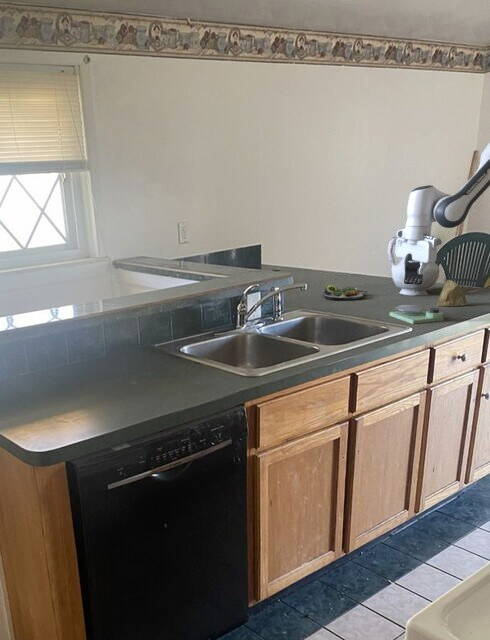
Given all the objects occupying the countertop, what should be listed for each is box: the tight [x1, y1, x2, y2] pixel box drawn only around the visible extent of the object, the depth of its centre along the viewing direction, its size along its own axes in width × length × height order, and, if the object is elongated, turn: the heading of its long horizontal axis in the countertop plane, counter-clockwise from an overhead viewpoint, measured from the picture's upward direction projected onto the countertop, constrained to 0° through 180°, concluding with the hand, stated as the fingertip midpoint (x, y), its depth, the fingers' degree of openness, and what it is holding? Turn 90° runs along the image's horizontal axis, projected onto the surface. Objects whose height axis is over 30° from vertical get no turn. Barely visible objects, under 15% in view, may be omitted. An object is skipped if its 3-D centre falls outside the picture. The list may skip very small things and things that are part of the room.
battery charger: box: [404, 253, 425, 285], centre depth 241 cm, size 7×4×11 cm, turn 54°
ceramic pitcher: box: [387, 235, 442, 296], centre depth 283 cm, size 22×20×25 cm
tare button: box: [429, 307, 440, 313], centre depth 241 cm, size 3×3×2 cm
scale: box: [389, 309, 445, 325], centre depth 246 cm, size 15×14×3 cm
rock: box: [436, 279, 468, 307], centre depth 261 cm, size 11×9×10 cm
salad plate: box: [321, 283, 369, 301], centre depth 286 cm, size 19×18×5 cm
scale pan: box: [395, 304, 425, 312], centre depth 247 cm, size 10×10×1 cm
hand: (413, 272), depth 242 cm, fingers closed on battery charger, 7 cm apart
